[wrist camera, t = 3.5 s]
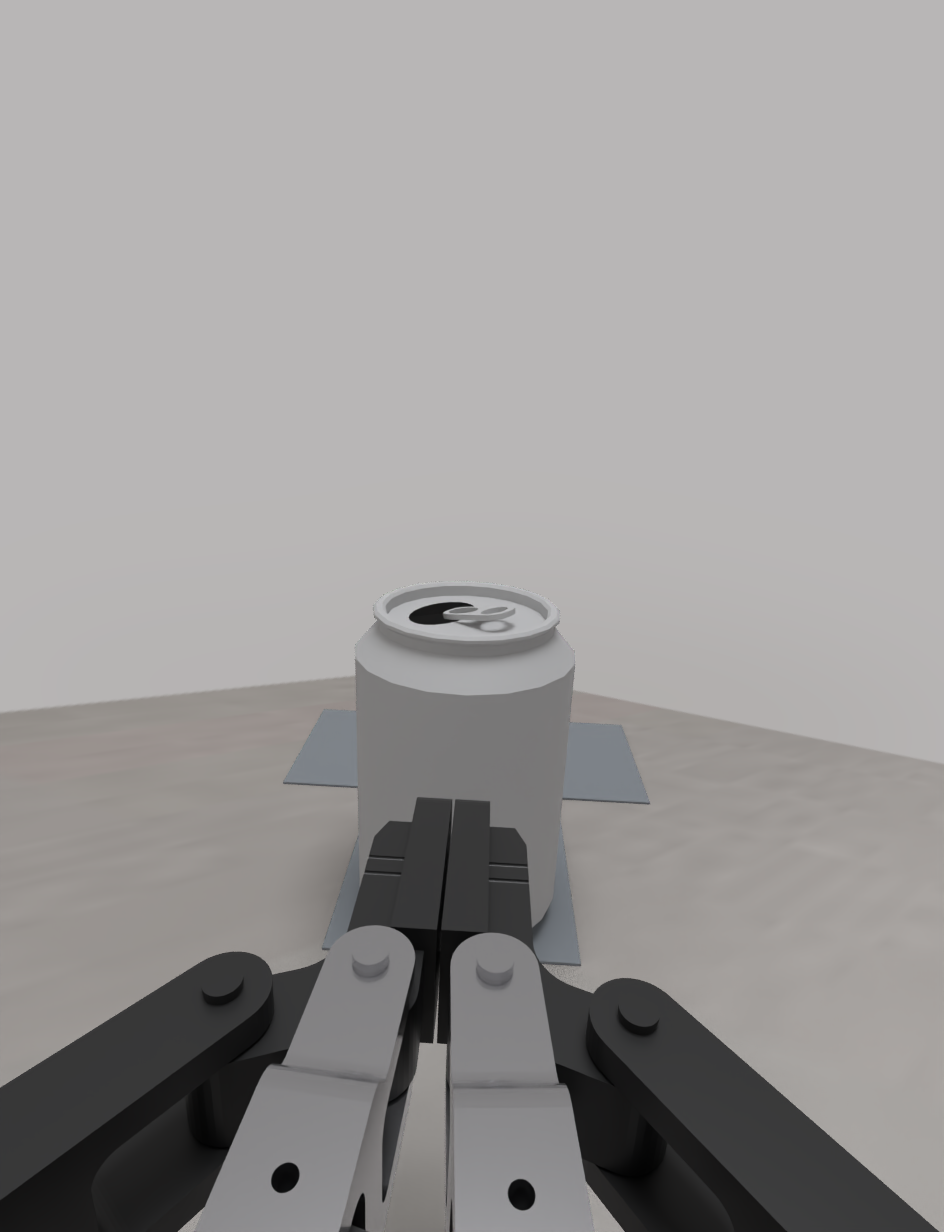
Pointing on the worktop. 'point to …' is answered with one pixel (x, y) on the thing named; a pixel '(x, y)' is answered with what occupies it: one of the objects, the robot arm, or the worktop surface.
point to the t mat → (590, 775)
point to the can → (466, 713)
